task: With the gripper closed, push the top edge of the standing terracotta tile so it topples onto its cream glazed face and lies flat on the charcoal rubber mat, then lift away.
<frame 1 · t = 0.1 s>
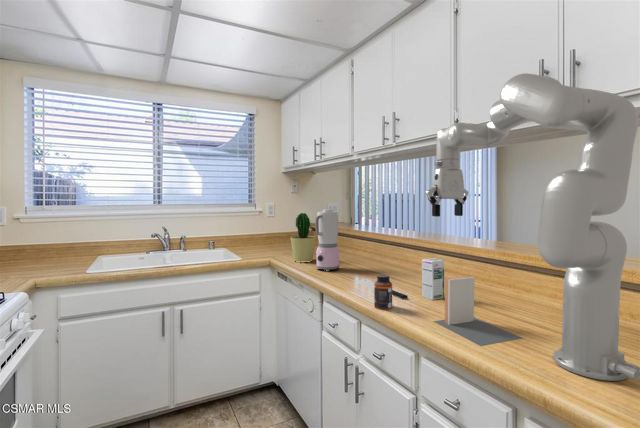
hand: (447, 216, 114), 31 cm above the counter, tool pointing down, fingers open, 9 cm apart
supplement bottle: (383, 309, 113), on the counter
syrup box: (432, 298, 125), on the counter
potted cactus: (303, 261, 203), on the counter
tile: (459, 321, 99), point 1 cm above the counter, touching mat
kitchen cleaver: (376, 291, 137), on the counter
mat: (475, 331, 93), on the counter
blender: (326, 270, 177), on the counter
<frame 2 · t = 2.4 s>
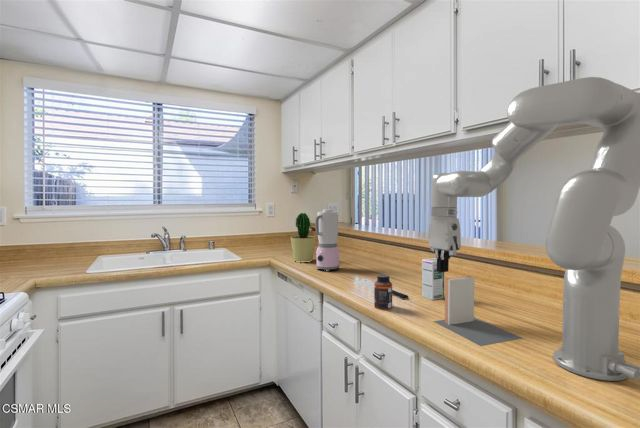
hand: (442, 271, 105), 14 cm above the counter, tool pointing down, fingers closed
nothing on the counter moved.
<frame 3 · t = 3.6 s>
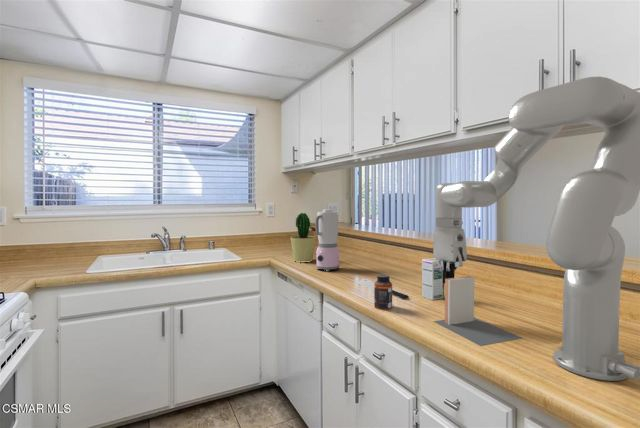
hand: (448, 283, 103), 11 cm above the counter, tool pointing down, fingers closed
nothing on the counter moved.
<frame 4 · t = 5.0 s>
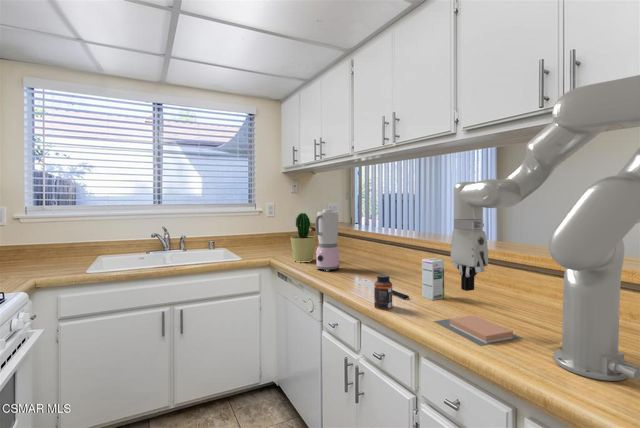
hand: (467, 289, 95), 11 cm above the counter, tool pointing down, fingers closed
tile: (462, 320, 97), point 1 cm above the counter, tilted 90°, touching mat
everything else where it was.
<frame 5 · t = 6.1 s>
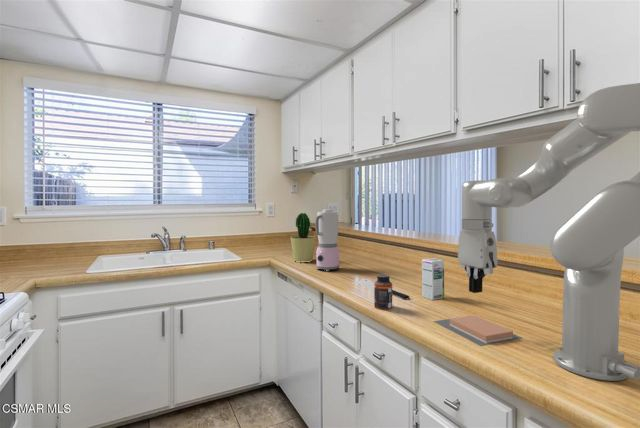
hand: (475, 291, 92), 11 cm above the counter, tool pointing down, fingers closed
nothing on the counter moved.
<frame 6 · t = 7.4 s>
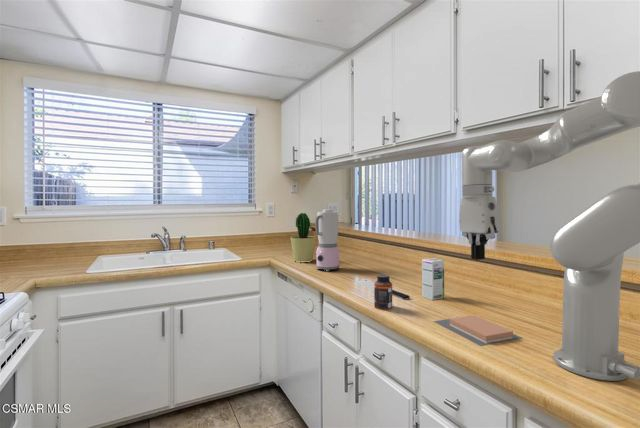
hand: (478, 258, 92), 20 cm above the counter, tool pointing down, fingers closed
nothing on the counter moved.
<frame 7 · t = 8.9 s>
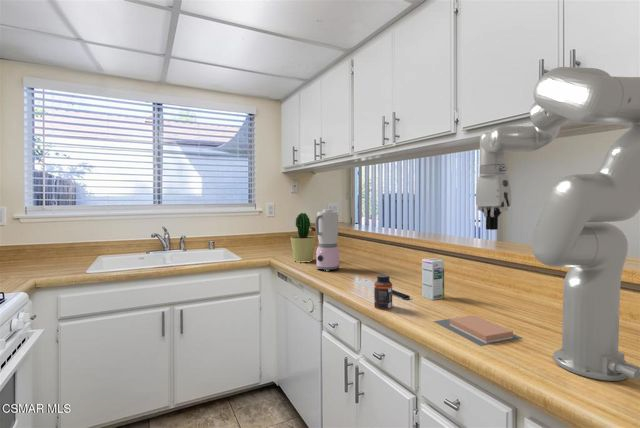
hand: (491, 229, 107), 27 cm above the counter, tool pointing down, fingers closed
nothing on the counter moved.
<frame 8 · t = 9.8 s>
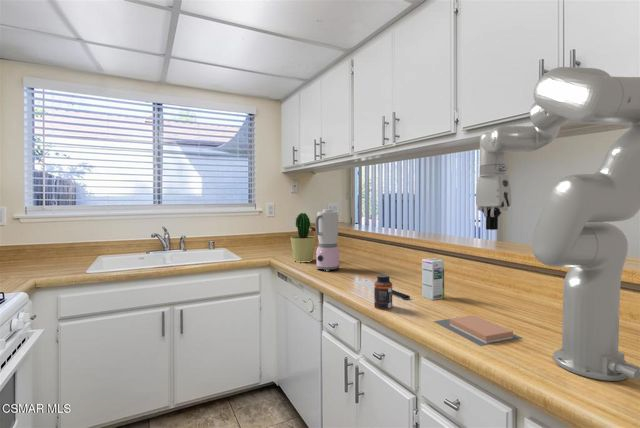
hand: (491, 229, 107), 27 cm above the counter, tool pointing down, fingers closed
nothing on the counter moved.
at the end: tile tilted 90°; tile inside the target area on the mat (0.7 cm from its centre), point 1.5 cm above the mat's base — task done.
